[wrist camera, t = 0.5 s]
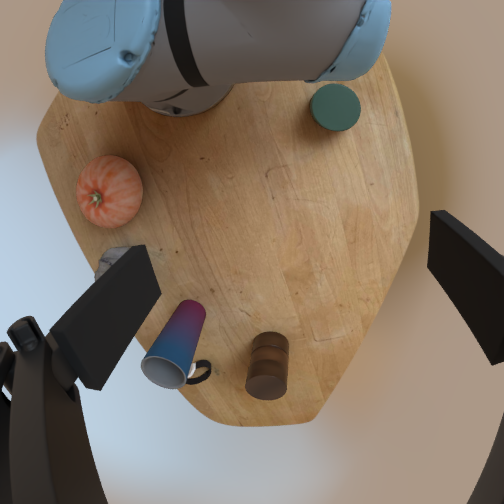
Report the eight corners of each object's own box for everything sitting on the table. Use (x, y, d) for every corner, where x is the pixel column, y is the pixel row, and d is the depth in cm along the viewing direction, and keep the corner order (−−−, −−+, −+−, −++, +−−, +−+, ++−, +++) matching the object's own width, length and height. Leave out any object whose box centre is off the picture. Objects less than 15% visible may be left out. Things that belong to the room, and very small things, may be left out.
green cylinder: (300, 104, 35) (301, 103, 32) (334, 77, 33) (338, 74, 30) (330, 139, 37) (334, 140, 34) (363, 112, 34) (370, 112, 31)
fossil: (150, 237, 46) (126, 259, 39) (167, 286, 50) (148, 313, 43) (98, 246, 48) (73, 268, 41) (116, 290, 52) (95, 315, 45)
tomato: (106, 140, 40) (75, 147, 33) (162, 169, 41) (137, 181, 34) (88, 199, 45) (58, 215, 37) (138, 229, 46) (114, 250, 39)
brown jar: (244, 342, 53) (235, 385, 43) (272, 324, 50) (268, 369, 41) (269, 362, 55) (264, 406, 45) (297, 347, 52) (296, 391, 43)
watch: (178, 385, 55) (174, 370, 58) (196, 388, 58) (192, 373, 61) (200, 368, 53) (196, 352, 55) (219, 371, 56) (214, 356, 58)
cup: (208, 296, 49) (181, 360, 36) (212, 328, 52) (190, 392, 39) (170, 293, 50) (135, 352, 37) (177, 324, 53) (147, 384, 40)
